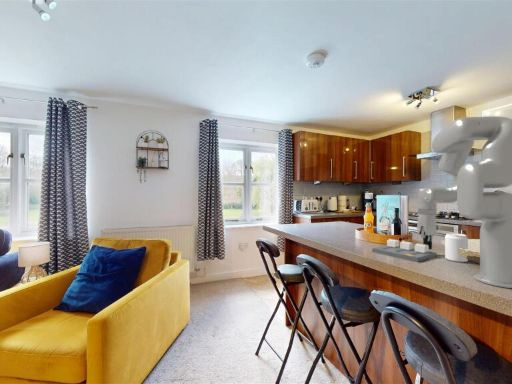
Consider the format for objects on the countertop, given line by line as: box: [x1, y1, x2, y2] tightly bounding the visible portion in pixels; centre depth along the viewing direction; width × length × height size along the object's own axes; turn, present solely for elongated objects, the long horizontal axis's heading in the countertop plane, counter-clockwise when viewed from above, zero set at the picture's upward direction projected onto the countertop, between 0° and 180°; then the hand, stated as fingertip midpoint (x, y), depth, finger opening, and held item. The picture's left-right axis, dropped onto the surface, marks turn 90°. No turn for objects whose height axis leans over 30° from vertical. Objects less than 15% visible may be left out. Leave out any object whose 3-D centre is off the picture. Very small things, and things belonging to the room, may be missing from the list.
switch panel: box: [371, 244, 437, 263], centre depth 123 cm, size 22×18×2 cm
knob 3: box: [414, 242, 430, 253], centre depth 119 cm, size 4×4×4 cm
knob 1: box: [386, 238, 400, 247], centre depth 131 cm, size 4×4×4 cm
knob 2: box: [399, 240, 414, 250], centre depth 125 cm, size 4×4×4 cm
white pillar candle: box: [444, 232, 469, 263], centre depth 111 cm, size 8×8×12 cm
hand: (427, 248), depth 122 cm, fingers closed
